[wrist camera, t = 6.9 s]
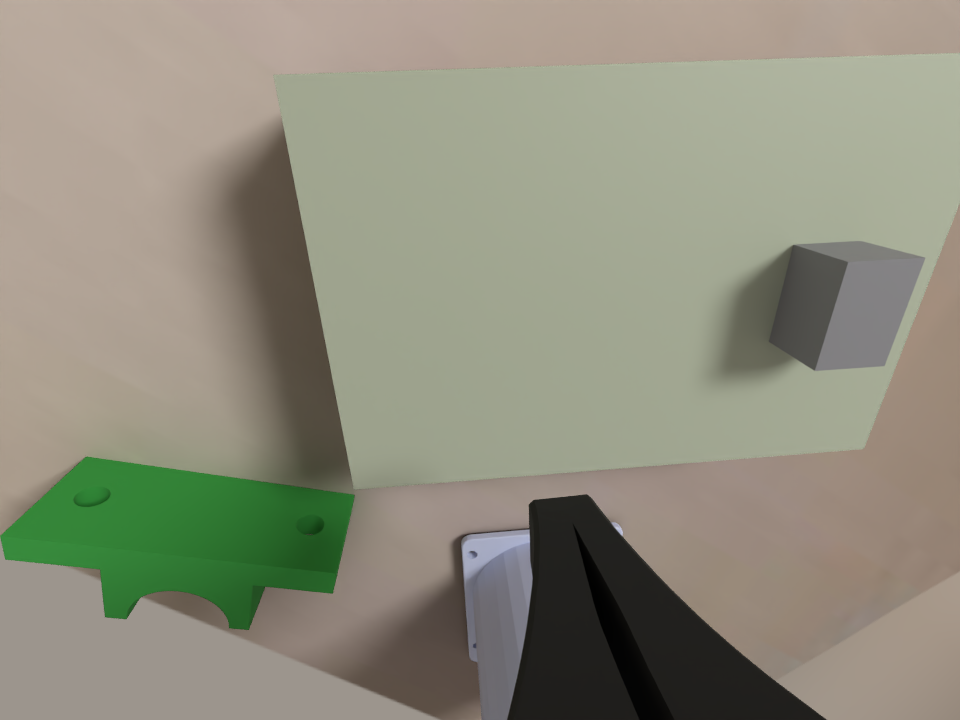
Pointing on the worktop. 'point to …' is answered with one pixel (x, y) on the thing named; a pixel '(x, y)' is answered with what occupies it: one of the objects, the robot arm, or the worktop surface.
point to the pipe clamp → (184, 535)
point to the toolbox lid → (618, 256)
